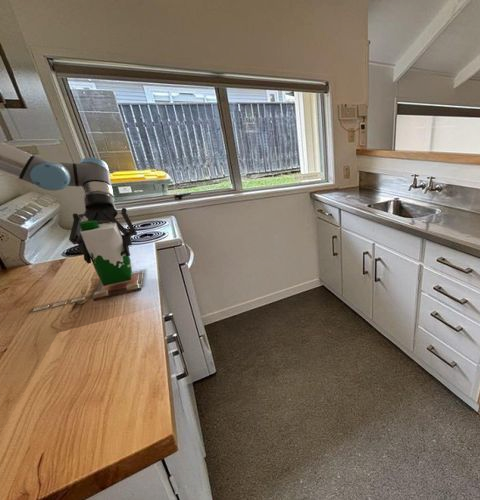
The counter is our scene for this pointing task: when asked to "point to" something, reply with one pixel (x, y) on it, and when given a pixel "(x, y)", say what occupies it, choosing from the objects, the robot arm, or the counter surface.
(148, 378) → the counter surface
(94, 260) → the soya milk
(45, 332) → the counter surface
